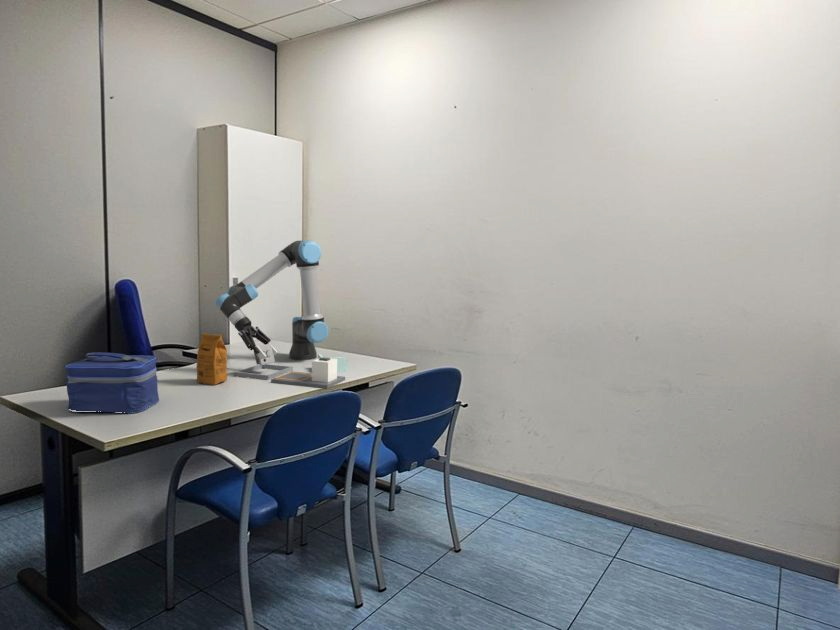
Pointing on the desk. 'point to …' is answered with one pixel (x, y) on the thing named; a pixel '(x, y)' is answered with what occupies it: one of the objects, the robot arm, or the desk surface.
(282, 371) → the tray frame
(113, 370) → the lunch bag
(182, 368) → the desk surface
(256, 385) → the desk surface
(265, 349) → the electrical switch
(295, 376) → the power dock
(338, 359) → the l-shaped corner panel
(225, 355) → the coffee package
